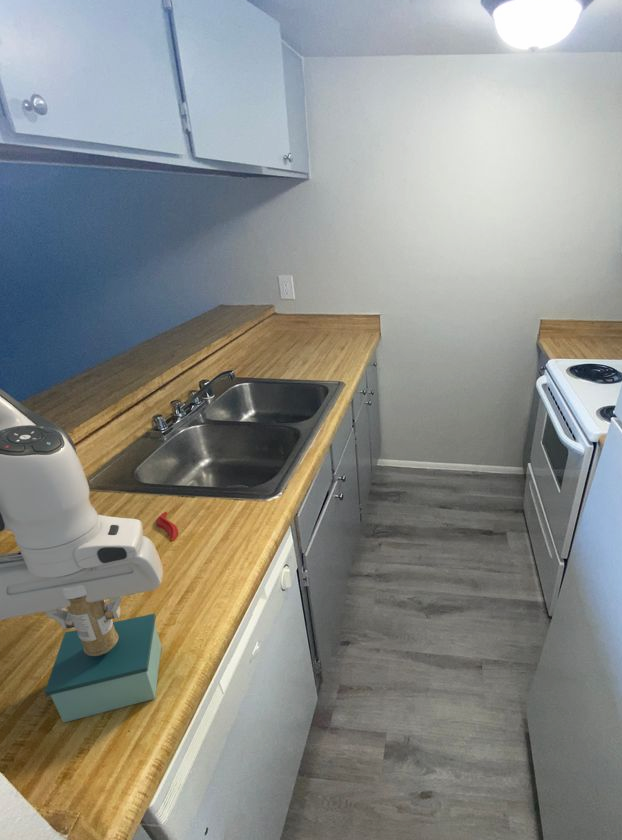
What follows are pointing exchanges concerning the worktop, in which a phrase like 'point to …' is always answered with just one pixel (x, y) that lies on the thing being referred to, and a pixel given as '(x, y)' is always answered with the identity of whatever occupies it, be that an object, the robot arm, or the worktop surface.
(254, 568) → the worktop surface
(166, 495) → the worktop surface
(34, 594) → the robot arm
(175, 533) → the cayenne pepper
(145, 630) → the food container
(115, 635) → the sprinkles bottle
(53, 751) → the worktop surface
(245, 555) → the worktop surface
